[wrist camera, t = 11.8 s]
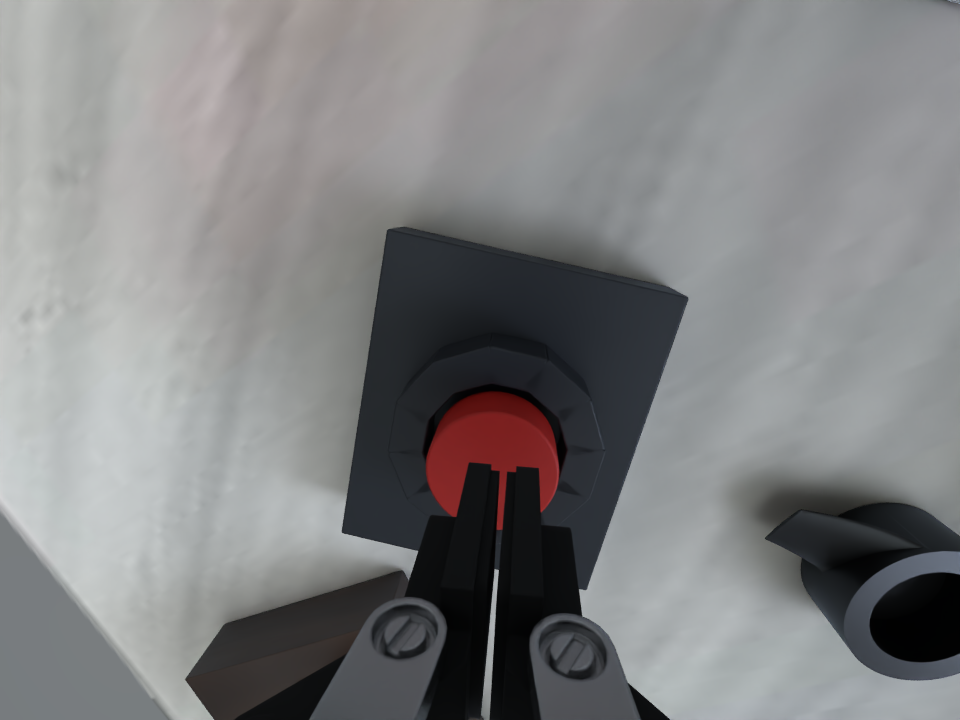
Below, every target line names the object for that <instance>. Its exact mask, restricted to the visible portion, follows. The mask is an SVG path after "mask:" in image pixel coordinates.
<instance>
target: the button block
mask: <svg viewBox="0 0 960 720" xmlns="http://www.w3.org/2000/svg"><path fill="white" fill-rule="evenodd" d="M687 302H688V297H687V296H685V295H683V294H681V293H679V292H677V291H675V290H673V289H672V288H670V287H667V286H662V285H658V284H653V283H649V282H645V281H640V280H636V279H631V278H627V277H623V276H618V275H614V274H609V273H605V272H601V271H596V270H592V269H587V268H583V267H579V266H574V265H570V264H565V263H561V262H557V261H552V260H548V259H543V258H539V257H535V256H530V255H526V254H521V253H517V252H513V251H508V250H504V249H499V248H495V247H491V246H486V245H482V244H477V243H473V242H469V241H464V240H460V239H455V238H451V237H446V236H442V235H438V234H433V233H429V232H424V231H420V230H416V229H411V228H407V227H400V228H393V229H388V230H387V234H386V241H385V248H384V254H383V261H382V267H381V274H380V281H379V287H378V294H377V301H376V307H375V314H374V321H373V327H372V334H371V340H370V347H369V354H368V360H367V367H366V374H365V380H364V387H363V393H362V400H361V407H360V413H359V420H358V427H357V433H356V440H355V447H354V453H353V460H352V466H351V473H350V480H349V486H348V493H347V500H346V506H345V513H344V520H343V526H342V533H344V534H349V535H353V536H357V537H361V538H366V539H370V540H374V541H378V542H383V543H387V544H391V545H395V546H400V547H404V548H408V549H412V550H417V551H419V548H420V545H421V542H422V538H423V535H424V532H425V529H426V526H427V523H428V520H429V517H430V516H431V515H440V516H451V515H450V514H448V513H447V512H446V511H445V510H444V509H443V508H442V507H441V506H440V504H439V503H438V502H437V501H436V499H435V497H434V496H433V494H432V492H431V490H430V488H429V484H428V481H427V476H426V459H427V455H428V451H429V448H430V445H431V443H432V440H433V438H434V435H435V432H436V430H437V427H438V425H439V423H440V421H441V419H442V417H443V416H444V414H445V413H446V412H447V411H448V410H449V409H450V408H451V407H452V406H453V405H454V404H455V403H457V402H458V401H460V400H461V399H463V398H465V397H467V396H470V395H473V394H476V393H481V392H489V391H498V392H506V393H510V394H514V395H517V396H519V397H521V398H524V399H525V400H527V401H529V402H530V403H532V404H533V405H534V406H536V407H537V408H538V409H539V410H540V411H541V412H542V413H543V415H544V416H545V417H546V419H547V420H548V422H549V424H550V425H551V428H552V430H553V433H554V437H555V442H556V449H557V456H558V463H559V481H558V485H557V489H556V491H555V494H554V496H553V498H552V500H551V501H550V503H549V504H548V505H547V507H546V508H545V509H544V510H543V511H542V512H541V525H551V526H562V527H570V528H571V532H572V539H573V547H574V555H575V563H576V571H577V579H578V587H579V589H582V590H586V589H587V587H588V584H589V581H590V578H591V575H592V572H593V570H594V567H595V564H596V561H597V558H598V555H599V552H600V550H601V547H602V544H603V541H604V538H605V535H606V532H607V530H608V527H609V524H610V521H611V518H612V515H613V513H614V510H615V507H616V504H617V501H618V498H619V495H620V493H621V490H622V487H623V484H624V481H625V478H626V475H627V473H628V470H629V467H630V464H631V461H632V458H633V456H634V453H635V450H636V447H637V444H638V441H639V438H640V436H641V433H642V430H643V427H644V424H645V421H646V418H647V416H648V413H649V410H650V407H651V404H652V401H653V399H654V396H655V393H656V390H657V387H658V384H659V381H660V379H661V376H662V373H663V370H664V367H665V364H666V362H667V359H668V356H669V353H670V350H671V347H672V344H673V342H674V339H675V336H676V333H677V330H678V327H679V324H680V322H681V319H682V316H683V313H684V310H685V307H686V305H687ZM451 517H452V516H451ZM501 539H502V530H497V533H496V551H495V568H494V569H497V570H499V564H500V551H501Z"/></svg>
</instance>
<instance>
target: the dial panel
mask: <svg viewBox="0 0 960 720" xmlns="http://www.w3.org/2000/svg"><path fill="white" fill-rule="evenodd" d="M408 583H409V581H408V579H407V577H406V575H405V574H404V572H403V571H399V572H396V573H393V574H389V575H386V576H383V577H379V578H376V579H373V580H369V581H366V582H363V583H360V584H356V585H353V586H350V587H346V588H343V589H340V590H337V591H333V592H330V593H327V594H323V595H320V596H317V597H313V598H310V599H307V600H304V601H300V602H297V603H294V604H290V605H287V606H284V607H281V608H277V609H274V610H271V611H267V612H264V613H261V614H257V615H254V616H251V617H248V618H244V619H241V620H238V621H234V622H231V623H228V624H225V625H223V627H222V628H221V630H220V631H219V632H218V634H217V635H216V637H215V638H214V639H213V641H212V642H211V644H210V645H209V646H208V648H207V649H206V651H205V652H204V653H203V655H202V656H201V658H200V659H199V660H198V662H197V663H196V665H195V666H194V667H193V669H192V670H191V672H190V673H189V674H188V676H187V677H186V679H185V680H186V681H187V683H188V684H189V686H190V687H191V688H192V690H193V691H194V692H195V694H196V695H197V697H198V698H199V699H200V701H201V702H202V703H203V705H204V706H205V708H206V709H207V710H208V712H209V713H210V714H211V716H212V717H213V719H214V720H234V719H235V718H237V717H238V716H240V715H241V714H243V713H245V712H247V711H248V710H250V709H252V708H254V707H255V706H257V705H259V704H260V703H262V702H264V701H266V700H267V699H269V698H271V697H273V696H274V695H276V694H278V693H279V692H281V691H283V690H285V689H286V688H288V687H290V686H292V685H293V684H295V683H297V682H298V681H300V680H302V679H304V678H305V677H307V676H309V675H311V674H312V673H314V672H316V671H317V670H319V669H321V668H323V667H324V666H326V665H328V664H330V663H331V662H333V661H335V660H336V659H338V658H340V657H342V656H343V655H345V654H347V653H348V651H349V649H350V648H351V646H352V644H353V643H354V641H355V639H356V637H357V636H358V634H359V632H360V630H361V629H362V627H363V625H364V623H365V622H366V620H367V619H368V618H369V616H370V615H371V614H372V612H373V611H374V610H376V609H377V608H378V607H380V606H381V605H382V604H384V603H386V602H389V601H391V600H394V599H397V598H404V596H405V593H406V589H407V586H408ZM469 720H484V719H483V718H482V716H481V718H480V719H476V718H469Z"/></svg>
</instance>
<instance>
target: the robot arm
mask: <svg viewBox="0 0 960 720" xmlns="http://www.w3.org/2000/svg"><path fill="white" fill-rule="evenodd" d="M947 1H951V2H954V3H957V4H960V0H947ZM491 468H492V465H491V464H485V463H472V462H469V464H468V468H467V472H466V477H465V481H464V485H463V490H462V494H461V498H460V503H459V507H458V512H457V516H456V517H451V516H440V515H431V516H430V517H429V520H428V523H427V526H426V529H425V532H424V535H423V538H422V542H421V545H420V548H419V551H418V554H417V558H416V561H415V564H414V567H413V570H412V574H411V577H410V580H409V583H408V586H407V589H406V593H405V596H404V598H397V599H394V600H391V601H389V602H386V603H384V604H382V605H381V606H380V607H378V608H377V609H376V610H374V611H373V612H372V614H371V615H370V616H369V618H368V619H367V620H366V622H365V623H364V625H363V627H362V629H361V630H360V632H359V634H358V636H357V637H356V639H355V641H354V643H353V644H352V646H351V648H350V649H349V651H348V653H347V654H345V655H343V656H342V657H340V658H338V659H336V660H335V661H333V662H331V663H330V664H328V665H326V666H324V667H323V668H321V669H319V670H317V671H316V672H314V673H312V674H311V675H309V676H307V677H305V678H304V679H302V680H300V681H298V682H297V683H295V684H293V685H292V686H290V687H288V688H286V689H285V690H283V691H281V692H279V693H278V694H276V695H274V696H273V697H271V698H269V699H267V700H266V701H264V702H262V703H260V704H259V705H257V706H255V707H254V708H252V709H250V710H248V711H247V712H245V713H243V714H241V715H240V716H238V717H237V718H235V719H234V720H469V718H476V719H480V718H481V708H482V698H483V687H484V676H485V666H486V655H487V645H488V634H489V623H490V613H491V602H492V591H493V581H494V568H495V551H496V533H497V515H498V497H499V479H500V471H496V470H491ZM490 720H670V719H669V718H668V717H667V716H665V715H664V714H663V713H662V712H661V711H660V710H658V709H657V708H656V707H655V706H654V705H653V704H652V703H650V702H649V701H648V700H647V699H646V698H645V697H644V696H642V695H641V694H640V693H639V692H638V691H637V690H636V689H634V688H633V687H632V686H631V685H630V684H629V683H628V682H627V680H626V677H625V674H624V671H623V668H622V666H621V663H620V660H619V657H618V655H617V652H616V649H615V646H614V645H613V643H612V641H611V639H610V637H609V636H608V634H607V633H606V632H605V631H604V630H603V629H602V628H601V627H600V626H599V625H597V624H595V623H594V622H592V621H591V620H589V619H587V618H585V617H582V611H581V603H580V595H579V587H578V579H577V571H576V563H575V555H574V547H573V539H572V532H571V528H570V527H562V526H551V525H541V507H540V478H539V468H534V467H522V466H516V472H508V471H507V478H506V491H505V503H504V515H503V527H502V539H501V551H500V564H499V576H498V589H497V603H496V620H495V637H494V654H493V671H492V688H491V705H490Z"/></svg>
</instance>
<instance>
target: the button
mask: <svg viewBox="0 0 960 720" xmlns="http://www.w3.org/2000/svg"><path fill="white" fill-rule="evenodd" d="M469 462H472V463H485V464H491V465H492V468H491V470H496V471H500V479H499V497H498V515H497V530H502V527H503V515H504V503H505V491H506V478H507V471H508V472H516V466H522V467H534V468H539V478H540V507H541V512H542V511H543V510H544V509H545V508H546V507H547V505H548V504H549V503H550V501H551V500H552V498H553V496H554V494H555V491H556V489H557V485H558V481H559V463H558V456H557V449H556V442H555V437H554V433H553V430H552V428H551V425H550V424H549V422H548V420H547V419H546V417H545V416H544V415H543V413H542V412H541V411H540V410H539V409H538V408H537V407H536V406H534V405H533V404H532V403H530V402H529V401H527V400H525V399H524V398H521V397H519V396H517V395H514V394H510V393H506V392H498V391H489V392H481V393H476V394H473V395H470V396H467V397H465V398H463V399H461V400H460V401H458V402H457V403H455V404H454V405H453V406H452V407H451V408H450V409H449V410H448V411H447V412H446V413H445V414H444V416H443V417H442V419H441V421H440V423H439V425H438V427H437V430H436V432H435V435H434V438H433V440H432V443H431V445H430V448H429V451H428V455H427V459H426V476H427V481H428V484H429V488H430V490H431V492H432V494H433V496H434V497H435V499H436V501H437V502H438V503H439V504H440V506H441V507H442V508H443V509H444V510H445V511H446V512H447V513H448V514H450V515H451V516H452V517H456V516H457V512H458V507H459V503H460V498H461V494H462V490H463V485H464V481H465V477H466V472H467V468H468V464H469Z"/></svg>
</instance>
